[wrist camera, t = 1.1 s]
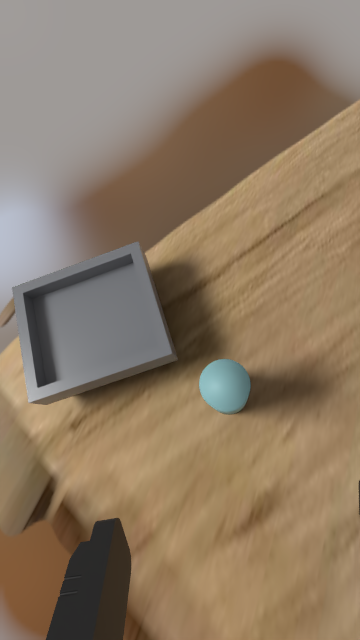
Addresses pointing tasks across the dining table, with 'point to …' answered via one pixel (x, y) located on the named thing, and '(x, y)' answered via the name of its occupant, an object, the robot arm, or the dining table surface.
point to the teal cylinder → (225, 386)
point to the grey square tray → (91, 325)
